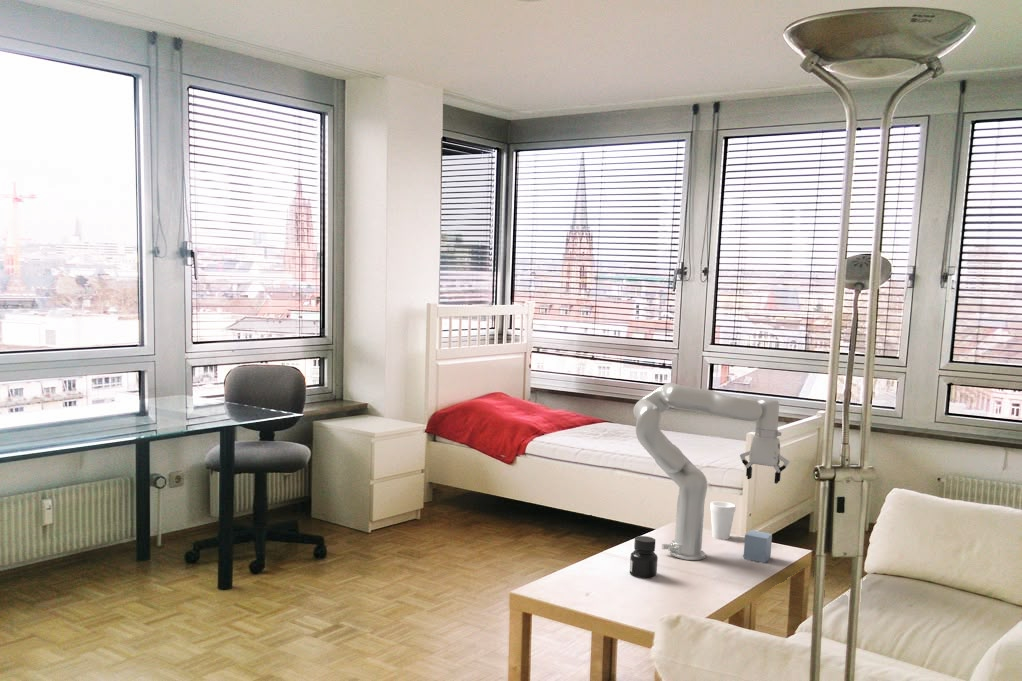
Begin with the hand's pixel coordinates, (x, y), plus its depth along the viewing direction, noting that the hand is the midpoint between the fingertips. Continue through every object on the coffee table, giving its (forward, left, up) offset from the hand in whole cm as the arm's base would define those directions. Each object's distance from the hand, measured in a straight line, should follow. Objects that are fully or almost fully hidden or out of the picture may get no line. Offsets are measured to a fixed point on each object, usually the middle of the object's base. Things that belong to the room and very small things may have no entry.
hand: (762, 480), depth 305 cm
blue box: (0, 0, -28) cm, 28 cm away
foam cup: (-1, +26, -28) cm, 38 cm away
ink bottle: (-50, -12, -29) cm, 59 cm away
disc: (0, 0, -28) cm, 28 cm away
